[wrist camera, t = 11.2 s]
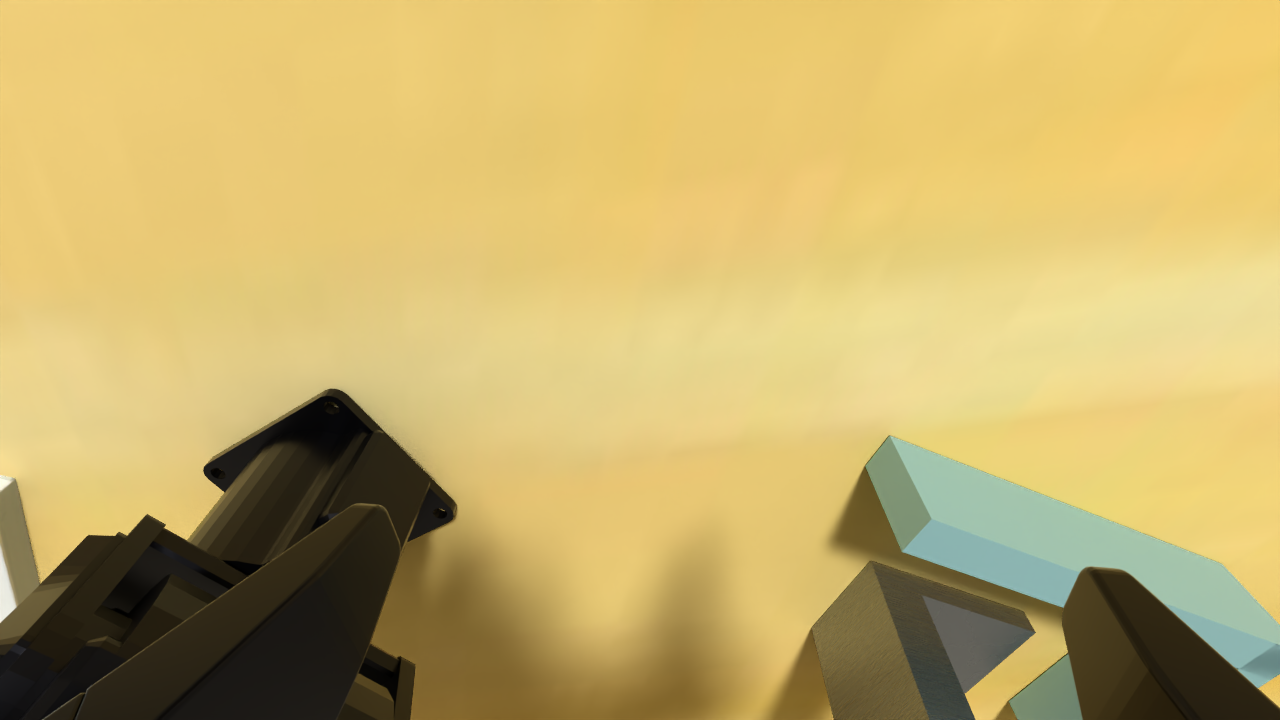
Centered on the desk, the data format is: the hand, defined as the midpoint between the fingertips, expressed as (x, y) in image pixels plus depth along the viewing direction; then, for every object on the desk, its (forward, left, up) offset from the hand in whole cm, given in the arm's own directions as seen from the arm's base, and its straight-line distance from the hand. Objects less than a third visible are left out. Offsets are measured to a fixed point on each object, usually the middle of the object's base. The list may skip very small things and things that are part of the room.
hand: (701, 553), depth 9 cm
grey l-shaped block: (0, -20, -12) cm, 24 cm away
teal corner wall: (+3, -20, -12) cm, 23 cm away
